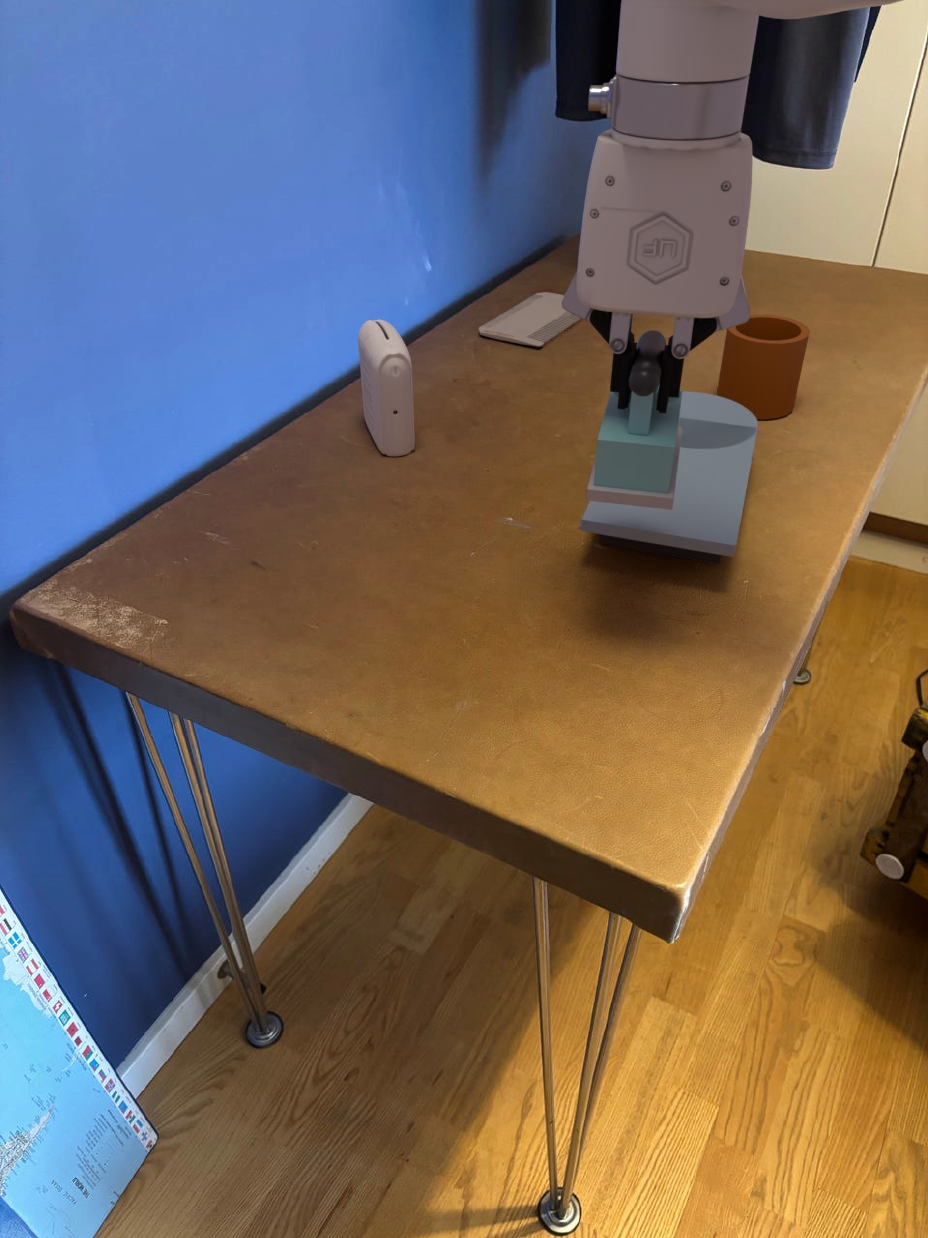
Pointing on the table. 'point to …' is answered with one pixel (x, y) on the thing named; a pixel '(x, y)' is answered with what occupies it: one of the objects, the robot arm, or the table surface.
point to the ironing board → (691, 488)
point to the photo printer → (387, 387)
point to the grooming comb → (531, 321)
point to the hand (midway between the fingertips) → (643, 401)
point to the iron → (639, 438)
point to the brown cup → (763, 364)
